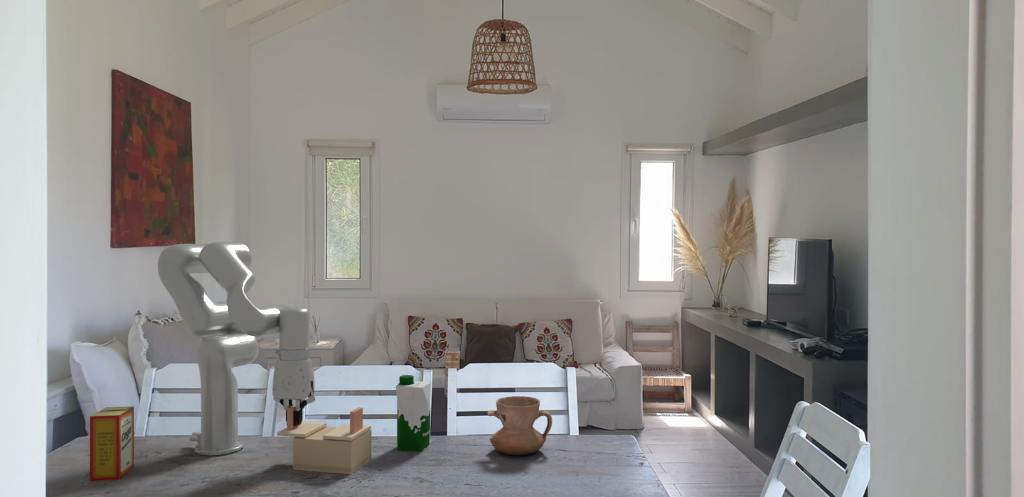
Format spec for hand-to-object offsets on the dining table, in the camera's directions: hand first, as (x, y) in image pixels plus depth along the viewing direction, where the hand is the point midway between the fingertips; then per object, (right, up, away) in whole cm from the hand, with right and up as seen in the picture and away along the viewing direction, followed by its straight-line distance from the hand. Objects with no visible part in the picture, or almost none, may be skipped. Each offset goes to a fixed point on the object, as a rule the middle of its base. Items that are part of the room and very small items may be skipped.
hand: (294, 424), depth 182 cm
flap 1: (+2, -1, 0) cm, 3 cm away
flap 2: (+15, -2, -3) cm, 15 cm away
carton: (+11, -10, -2) cm, 15 cm away
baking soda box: (-42, -10, -10) cm, 44 cm away
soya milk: (+30, -10, +13) cm, 34 cm away
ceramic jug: (+60, -10, +9) cm, 61 cm away
